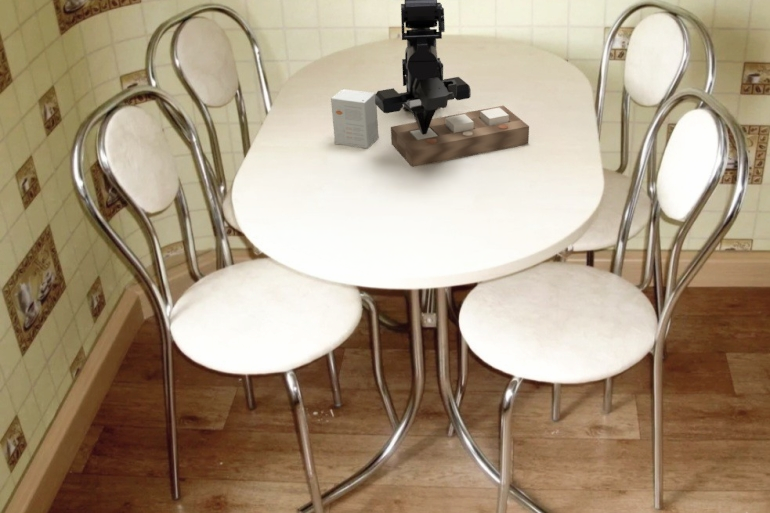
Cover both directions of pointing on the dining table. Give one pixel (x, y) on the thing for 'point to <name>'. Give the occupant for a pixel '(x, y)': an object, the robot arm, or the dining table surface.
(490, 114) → the key
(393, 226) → the dining table surface
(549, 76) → the dining table surface
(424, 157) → the key board
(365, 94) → the small box
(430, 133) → the key
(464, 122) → the key mid
